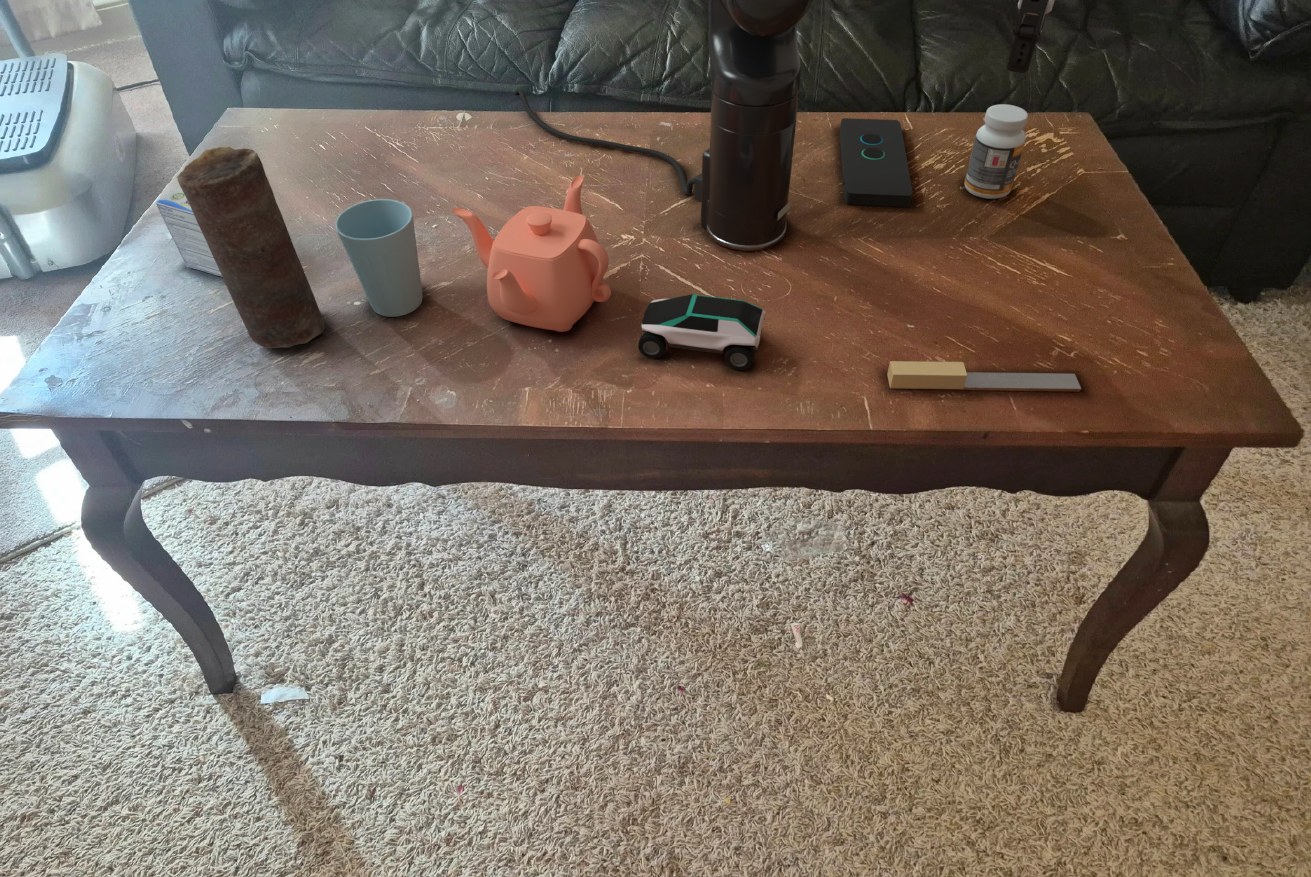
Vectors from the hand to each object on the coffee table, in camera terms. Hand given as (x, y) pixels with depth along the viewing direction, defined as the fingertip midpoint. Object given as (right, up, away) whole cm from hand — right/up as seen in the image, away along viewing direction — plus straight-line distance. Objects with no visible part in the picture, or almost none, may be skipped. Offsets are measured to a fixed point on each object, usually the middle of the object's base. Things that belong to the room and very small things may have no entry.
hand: (1022, 55), depth 98 cm
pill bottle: (0, -12, +12) cm, 17 cm away
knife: (-10, -38, -13) cm, 41 cm away
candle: (-80, -32, -6) cm, 86 cm away
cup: (-69, -28, -2) cm, 75 cm away
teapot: (-54, -28, -3) cm, 61 cm away
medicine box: (-91, -23, +3) cm, 94 cm away
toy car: (-37, -34, -9) cm, 50 cm away
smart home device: (-13, -7, +16) cm, 22 cm away
